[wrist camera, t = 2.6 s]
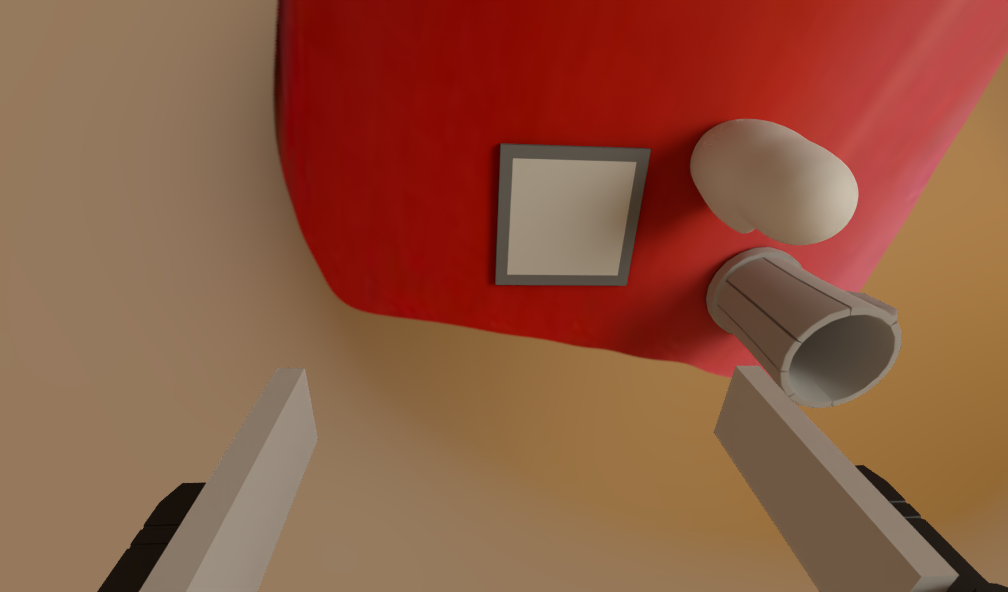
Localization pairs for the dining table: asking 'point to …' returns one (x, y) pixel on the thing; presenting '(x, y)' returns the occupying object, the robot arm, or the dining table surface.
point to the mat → (568, 213)
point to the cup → (804, 327)
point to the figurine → (773, 182)
